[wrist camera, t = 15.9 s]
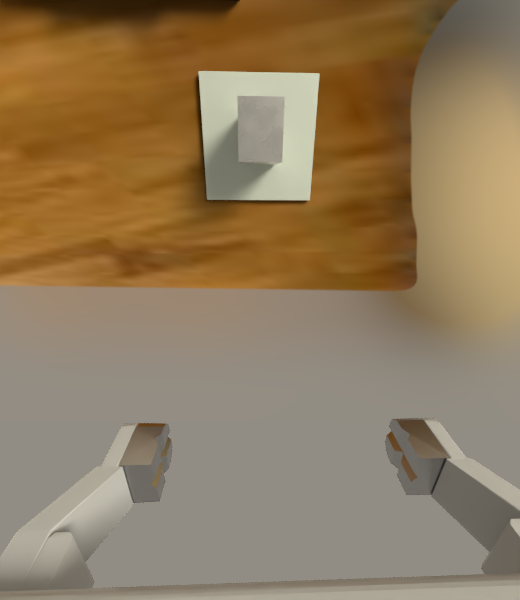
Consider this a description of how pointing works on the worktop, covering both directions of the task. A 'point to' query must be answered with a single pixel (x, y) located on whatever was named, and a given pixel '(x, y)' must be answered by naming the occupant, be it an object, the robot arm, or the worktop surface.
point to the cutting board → (224, 135)
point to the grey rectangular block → (260, 129)
